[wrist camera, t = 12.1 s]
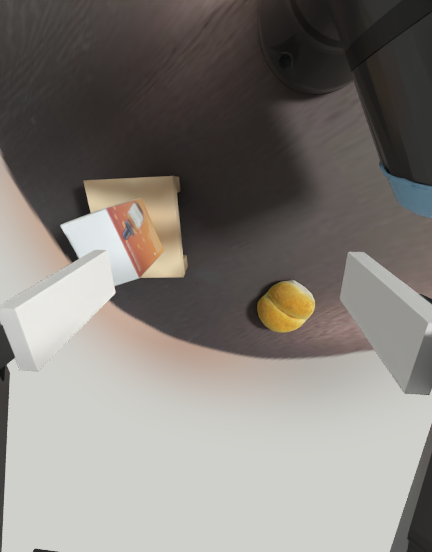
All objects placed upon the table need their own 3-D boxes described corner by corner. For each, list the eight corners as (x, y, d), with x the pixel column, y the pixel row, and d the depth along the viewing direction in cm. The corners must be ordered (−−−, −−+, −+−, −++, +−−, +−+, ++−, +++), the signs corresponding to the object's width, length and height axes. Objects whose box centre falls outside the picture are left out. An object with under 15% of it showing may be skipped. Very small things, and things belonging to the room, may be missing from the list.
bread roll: (248, 309, 45) (249, 322, 42) (283, 270, 42) (287, 280, 39) (285, 335, 47) (289, 349, 43) (322, 299, 44) (329, 311, 40)
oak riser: (97, 179, 39) (83, 180, 35) (178, 175, 38) (172, 175, 34) (116, 269, 44) (105, 278, 40) (187, 267, 43) (183, 277, 39)
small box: (165, 251, 38) (141, 280, 28) (131, 262, 39) (96, 294, 29) (142, 196, 35) (106, 207, 26) (105, 209, 36) (57, 225, 27)
